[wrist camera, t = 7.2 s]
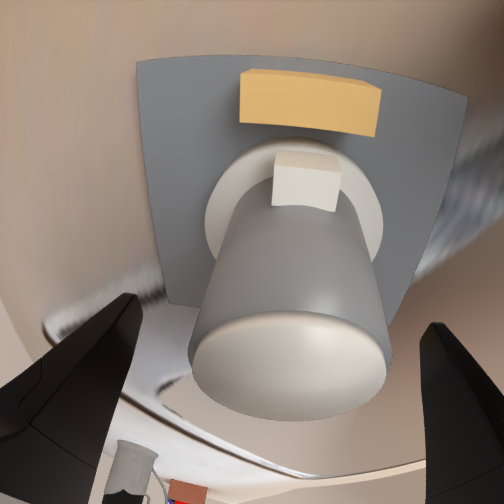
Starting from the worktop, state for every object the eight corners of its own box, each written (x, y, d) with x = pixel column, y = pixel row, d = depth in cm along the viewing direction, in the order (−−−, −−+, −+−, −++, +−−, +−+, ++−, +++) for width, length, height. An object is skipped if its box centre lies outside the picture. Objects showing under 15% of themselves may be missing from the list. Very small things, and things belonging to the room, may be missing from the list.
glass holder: (127, 439, 46) (107, 506, 34) (187, 464, 51) (174, 526, 39) (111, 440, 50) (92, 499, 38) (166, 464, 55) (152, 519, 44)
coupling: (339, 304, 14) (347, 436, 9) (231, 293, 14) (200, 423, 9) (378, 153, 9) (455, 285, 4) (230, 137, 10) (157, 255, 5)
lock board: (457, 92, 9) (502, 112, 7) (386, 312, 17) (396, 359, 15) (146, 60, 10) (101, 69, 8) (173, 291, 18) (155, 336, 16)
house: (209, 487, 73) (202, 518, 64) (201, 491, 85) (196, 518, 76) (170, 477, 72) (163, 509, 63) (169, 483, 84) (163, 510, 75)
